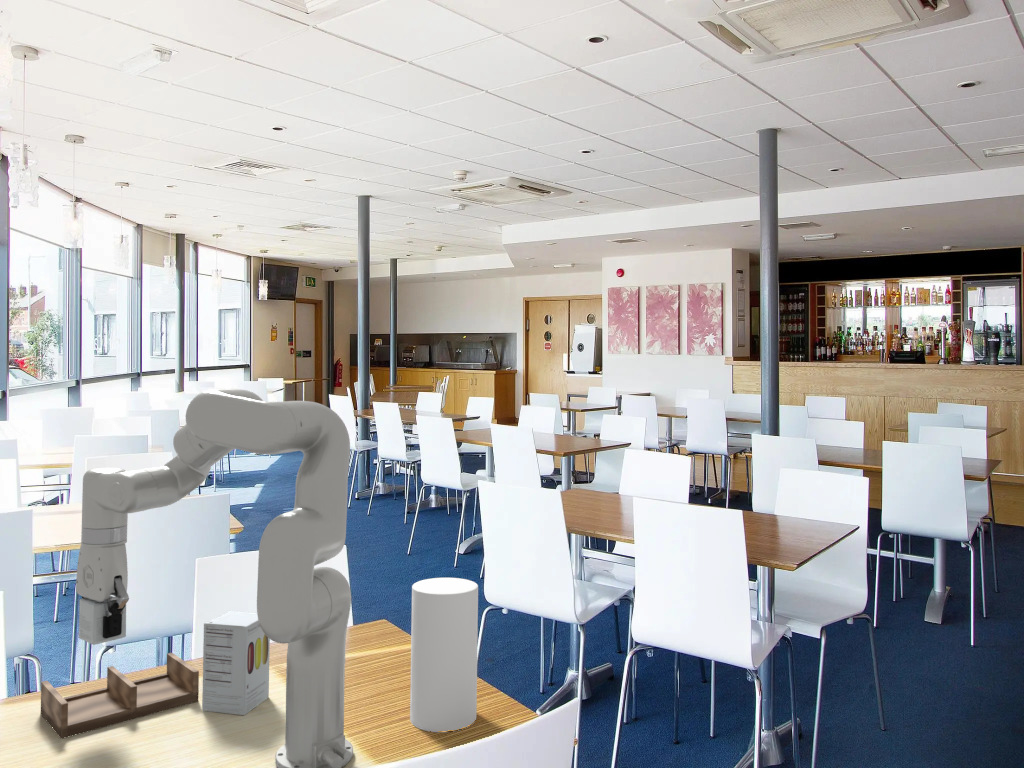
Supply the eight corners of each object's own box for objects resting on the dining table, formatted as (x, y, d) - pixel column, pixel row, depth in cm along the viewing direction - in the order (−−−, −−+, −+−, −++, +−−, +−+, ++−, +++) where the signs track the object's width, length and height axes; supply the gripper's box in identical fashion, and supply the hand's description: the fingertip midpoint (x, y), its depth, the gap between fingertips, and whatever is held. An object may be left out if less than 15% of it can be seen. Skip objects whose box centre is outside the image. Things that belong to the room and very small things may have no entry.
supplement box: (244, 716, 146) (245, 626, 146) (200, 711, 148) (201, 623, 148) (270, 696, 155) (271, 612, 155) (228, 692, 157) (229, 609, 157)
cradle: (198, 701, 152) (198, 670, 152) (61, 738, 135) (61, 704, 136) (171, 681, 162) (171, 652, 162) (40, 713, 146) (41, 681, 146)
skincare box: (126, 637, 144) (127, 598, 144) (92, 645, 139) (93, 604, 139) (111, 630, 147) (112, 591, 147) (77, 638, 143) (78, 598, 143)
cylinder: (489, 714, 148) (491, 583, 148) (449, 738, 138) (451, 598, 138) (438, 699, 155) (439, 574, 155) (396, 721, 144) (398, 587, 145)
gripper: (60, 532, 145) (57, 628, 145) (108, 545, 135) (106, 648, 135) (100, 526, 151) (98, 618, 151) (149, 538, 141) (147, 637, 141)
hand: (102, 631), depth 143 cm, fingers closed on skincare box, 6 cm apart
